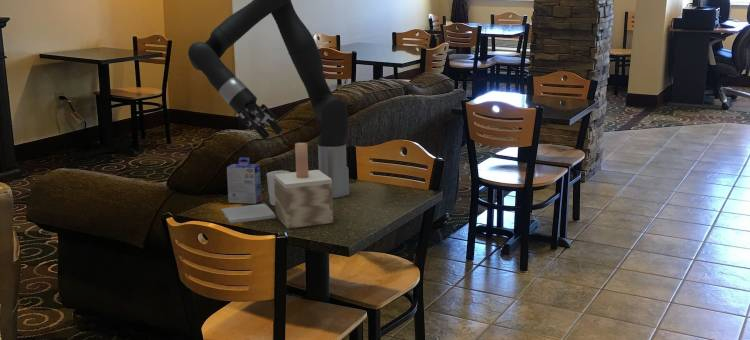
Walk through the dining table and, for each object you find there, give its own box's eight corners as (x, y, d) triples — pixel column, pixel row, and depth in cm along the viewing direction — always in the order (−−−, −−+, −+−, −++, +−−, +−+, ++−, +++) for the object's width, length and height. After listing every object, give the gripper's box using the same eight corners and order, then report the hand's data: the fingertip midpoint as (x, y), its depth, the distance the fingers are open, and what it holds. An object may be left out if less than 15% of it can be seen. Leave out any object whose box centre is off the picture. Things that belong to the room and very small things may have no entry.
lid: (318, 173, 251) (317, 137, 248) (332, 183, 238) (330, 145, 236) (274, 178, 246) (272, 141, 244) (285, 188, 233) (283, 150, 231)
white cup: (296, 201, 266) (295, 171, 263) (286, 207, 258) (284, 176, 256) (274, 199, 268) (273, 170, 266) (264, 205, 261) (262, 175, 259)
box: (319, 210, 254) (318, 173, 251) (333, 222, 241) (332, 183, 238) (275, 216, 249) (274, 178, 246) (287, 228, 236) (285, 188, 233)
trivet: (265, 206, 260) (265, 203, 259) (275, 217, 247) (275, 214, 247) (221, 211, 255) (221, 208, 255) (229, 223, 242) (229, 220, 242)
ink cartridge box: (262, 200, 268) (260, 157, 265) (256, 204, 263) (254, 160, 259) (234, 199, 270) (231, 156, 267) (228, 203, 265) (225, 159, 261)
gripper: (233, 90, 235) (270, 130, 234) (256, 84, 248) (292, 122, 247) (218, 107, 238) (255, 147, 237) (241, 100, 251) (277, 138, 250)
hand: (274, 134), depth 242 cm, fingers open, 8 cm apart
